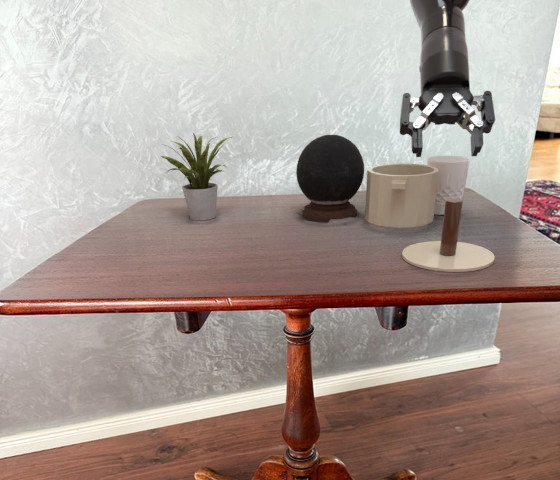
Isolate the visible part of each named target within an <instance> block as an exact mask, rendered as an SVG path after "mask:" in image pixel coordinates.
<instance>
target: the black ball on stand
mask: <svg viewBox="0 0 560 480" xmlns="http://www.w3.org/2000/svg"><path fill="white" fill-rule="evenodd" d="M364 176H365V163H364V159H363V156H362V154H361V151H360V150H359V148H358V147H357V146H356V144H355V143H353V142H352V141H351V140H350V139H348V138H346V137H344V136H342V135H340V134H325V135H321V136H318V137H316V138H314V139H313V140H311V141H310V142H309V143H308V144H307V145H305V147H304V148H303V150H302V151H301V152H300V155H299V157H298V160H297V163H296V181H297V184H298V187H299V189H300V191H301V192H302V194H303V195H304V196H305V197H306V198H307V199H308V200H309V201H310V202H309V203H308V204H306V205H305V206H304V208H303V210H301V217H302V218H303V219H304V220H307V221H311V222H314V223H315V222H316V223H329V222H330V221H331V220H342V219H343V220H344V219H349V218H357V217H358V212H359V211H358V209H357V208H356V206H355V205H354V204H352V203H351V202H350V200H351V199H353V197H354V196H355V195H356V194H357V193H358V191H359V189H360V188H361V186H362V185H363V180H364Z"/></svg>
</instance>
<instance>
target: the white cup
mask: <svg viewBox="0 0 560 480" xmlns="http://www.w3.org/2000/svg"><path fill="white" fill-rule="evenodd" d="M470 163H471V158H470V157H468V156H462V155H433V156H430V157H428V158H427V161H426V165H429V166H433V167H436V168H438V178H437V187H436V196H435V206H434V215H436V216H444V211H445V202H446V200H447V199H461V200H463V199H464V195H465V190H466V185H467V180H468V174H469V170H470V169H469V168H470V167H469V166H470Z"/></svg>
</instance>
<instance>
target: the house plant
mask: <svg viewBox="0 0 560 480" xmlns="http://www.w3.org/2000/svg"><path fill="white" fill-rule="evenodd" d="M192 136H193V139H194V150H195V151H194V152H195V154H194V152H193V150H192V148H191V146H190V145H189V144H188V143H187V142H186V141H185V140H184V139H183V138H181V137H180V136H178V138H179V139H180V140H181V141H182V142H184V144H185V145H184V144H182V143H181V142H177V141H174V140H170V142H171V143H175V144H176V147H177V148H178V149H179V150H181V154H180V153H179V152H177V151H176V150H175V149H174V148H173V147H171V146H169V145H166V144H161V145H162V146H163V145H164V146H166V147H168V148H170V149H171V150H173V151H174V152H175V153H177V155H179V157H181V159H182V160H183V161H184V162H185V164H186V165H187V166H188V167H187V166H186V165H185V164H184V163H182V162H180V161H179V160H177V159H175V158H172V157H170V156H166V155H160V157H161V158H162V159H164V160H166V161H167V162H168V163H170V164H171V165H172V166H174V168H170V169H168V170H167V171H166V173H168V172H170V171H171V172H173V171H179V172H180V173H181V174H182V175H183V176H184V179H187V182H188V183H189V184H188V183H187V184H184V185H183V186H182V188H181V189H182V193H183V197H184V200H185V203H186V207H187V211H188V214H189V218H190V220H191V221H197V222H199V221H200V222H201V221H203V222H204V221H210V220H213V219H216V216H217V203H218V184H217V183H215V182H210V180H211V178H212V177H213V176H214V175H216V174H218V173H221V172H225V173H226V171H225V170H222V169H219V167H222V166H223V167H226V165H225V164H214V165H213V166H212V167H211V164H212V163H213V160H214V158H215V157H216V155H218V153H219V152H220V149H221V148H222V147H223V144H224V142H226V141H227V140H230V139H232V138H233V136H230V137H229V136H228V137H225V138H223V139H221V140H220V141H218V142H217V143H216V144H215V146H214V147H213V149H212V150H211V153H210V154H209V150H210V145H211V143H210V142H211V141H212V140H214V139H217V138H218V136H216V137H212V138H211V139H210V140H209V141H208V142H207V143H206V146H205V149H204V150H203V149H202V148H203V136H202V135H200V136H198V138H197V136H196V134H195V132H192ZM177 145H178V146H177ZM186 146H187V147H186ZM202 150H203V151H202ZM185 159H186V160H185Z"/></svg>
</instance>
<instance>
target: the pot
mask: <svg viewBox="0 0 560 480" xmlns="http://www.w3.org/2000/svg"><path fill="white" fill-rule="evenodd" d="M437 178H438V168H436V167H433V166H429V165H427V164H422V163H387V164H386V163H385V164H384V163H383V164H378V165H374V166H371V167H369V168H368V169H367V171H366V189H365V191H366V192H365V209H364V210H365V211H364V220H365V221H366V222H367V223H369V224H372V225H375V226H379V227H385V228H397V229H399V228H400V229H406V228H407V229H408V228H418V227H422V226H427V225H429V224H432V223H433V222H434V215H435V214H434V206H435V196H436V187H437Z"/></svg>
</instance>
